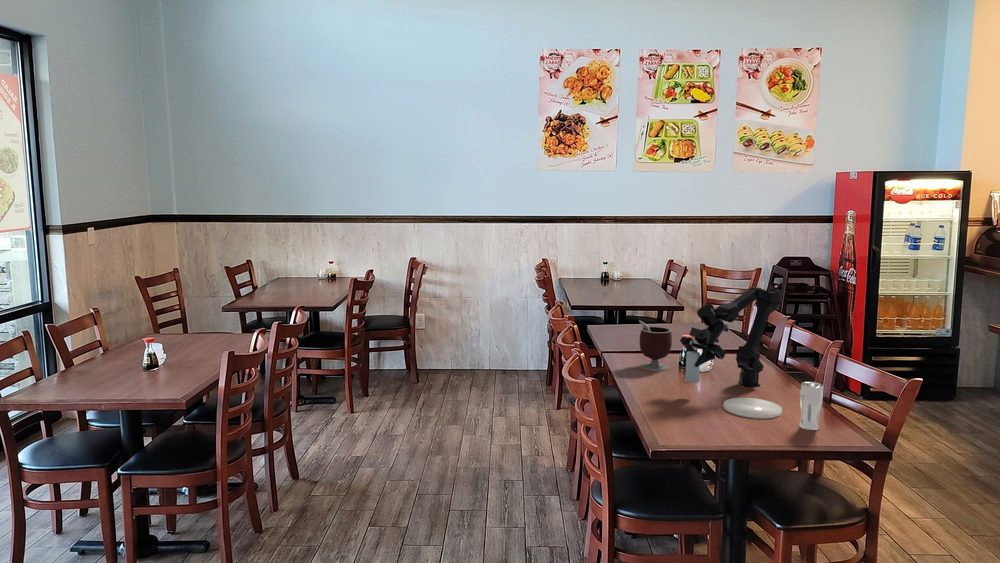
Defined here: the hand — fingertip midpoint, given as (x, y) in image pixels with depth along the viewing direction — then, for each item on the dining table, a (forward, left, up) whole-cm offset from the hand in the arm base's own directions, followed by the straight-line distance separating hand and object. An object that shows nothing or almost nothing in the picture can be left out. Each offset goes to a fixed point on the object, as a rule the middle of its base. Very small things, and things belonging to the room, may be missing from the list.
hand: (690, 364), depth 265 cm
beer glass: (-27, +36, -13) cm, 47 cm away
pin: (-1, -1, -7) cm, 7 cm away
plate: (-17, +16, -13) cm, 27 cm away
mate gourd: (-1, -44, -13) cm, 45 cm away
